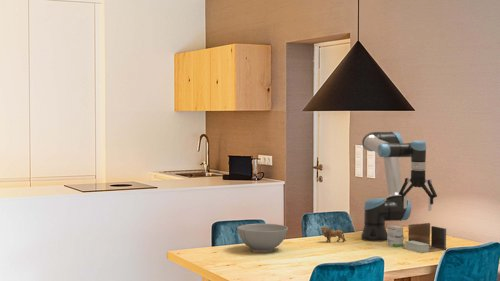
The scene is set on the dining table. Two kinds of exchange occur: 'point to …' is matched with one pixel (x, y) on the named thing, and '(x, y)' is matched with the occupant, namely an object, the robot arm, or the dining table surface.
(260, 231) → the decorative bowl
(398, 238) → the ink box
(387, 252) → the dining table surface
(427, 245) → the flat grey box
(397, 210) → the robot arm
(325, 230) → the lion figurine
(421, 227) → the shelf
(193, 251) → the dining table surface
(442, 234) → the bookend
